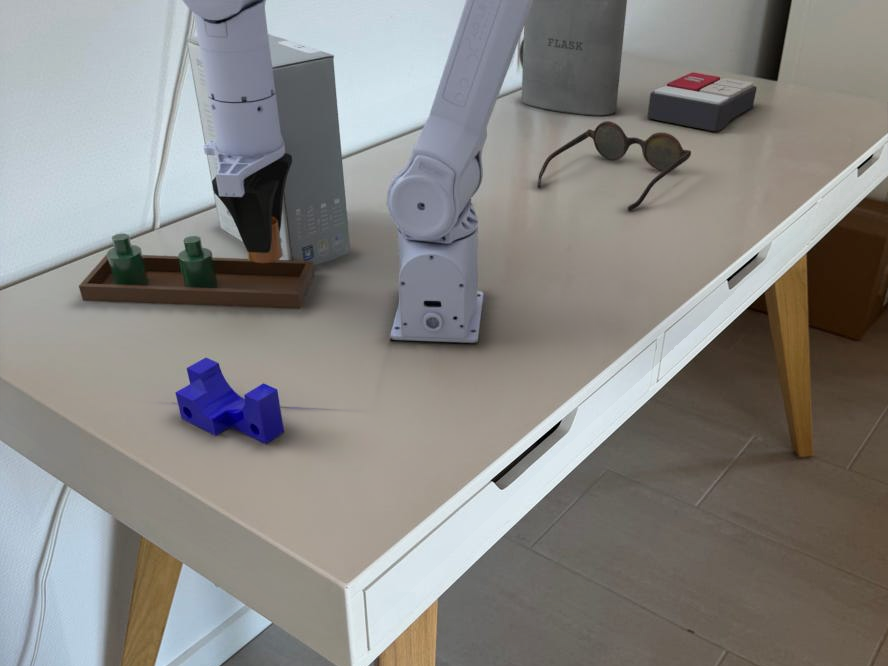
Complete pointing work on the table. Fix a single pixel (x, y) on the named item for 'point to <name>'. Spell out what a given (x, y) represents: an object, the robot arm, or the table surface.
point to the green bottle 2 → (197, 264)
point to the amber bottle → (275, 249)
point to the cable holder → (228, 404)
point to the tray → (235, 288)
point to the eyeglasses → (614, 144)
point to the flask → (573, 55)
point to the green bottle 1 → (127, 262)
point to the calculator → (701, 101)
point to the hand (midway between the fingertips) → (264, 242)
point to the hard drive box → (297, 151)
